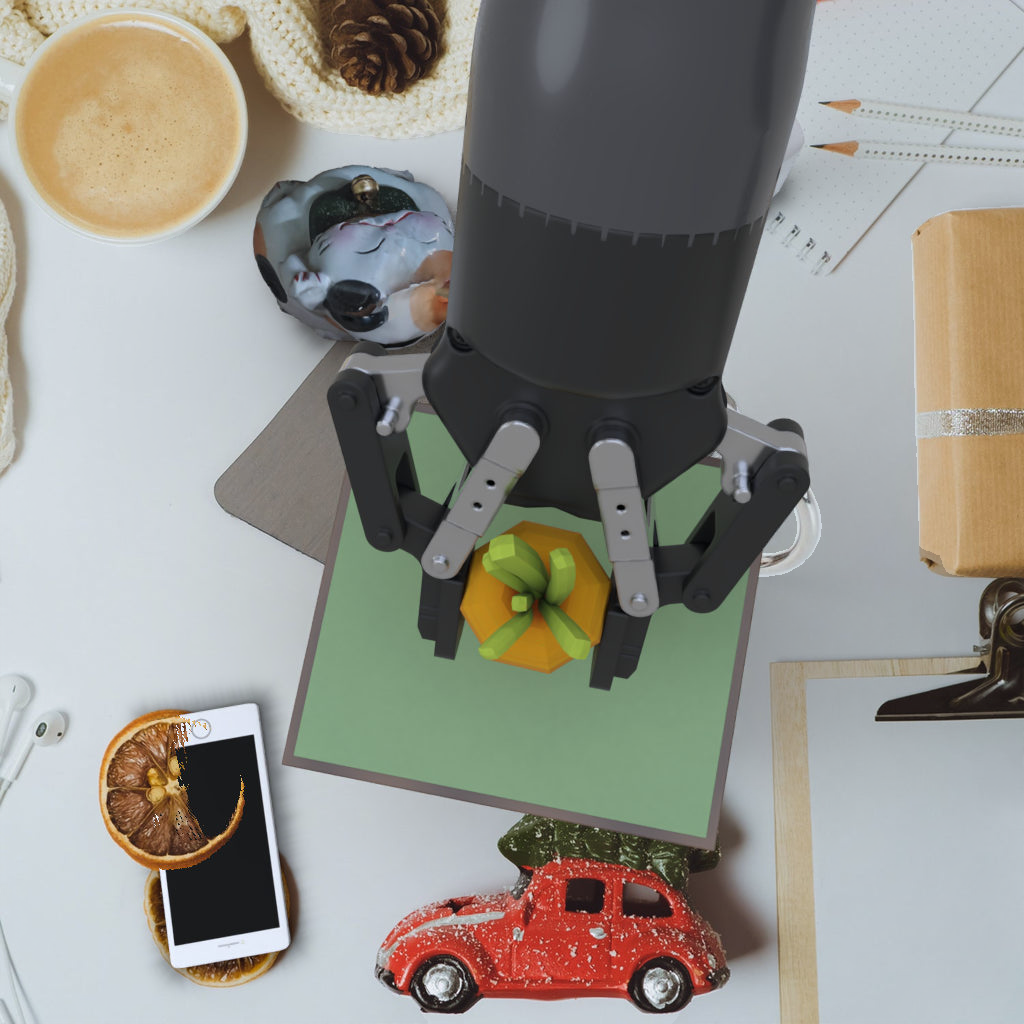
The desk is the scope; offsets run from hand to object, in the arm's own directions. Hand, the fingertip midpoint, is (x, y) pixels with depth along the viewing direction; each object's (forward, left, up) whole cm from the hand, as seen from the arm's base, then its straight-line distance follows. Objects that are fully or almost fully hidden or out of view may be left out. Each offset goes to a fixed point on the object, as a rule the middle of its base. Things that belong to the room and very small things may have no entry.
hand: (526, 655), depth 35 cm
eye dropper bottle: (-9, -36, -36) cm, 52 cm away
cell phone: (+18, +15, -36) cm, 43 cm away
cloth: (0, -2, -8) cm, 8 cm away
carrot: (0, -2, -8) cm, 8 cm away
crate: (0, -2, -36) cm, 36 cm away
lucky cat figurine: (+15, -25, -36) cm, 46 cm away
